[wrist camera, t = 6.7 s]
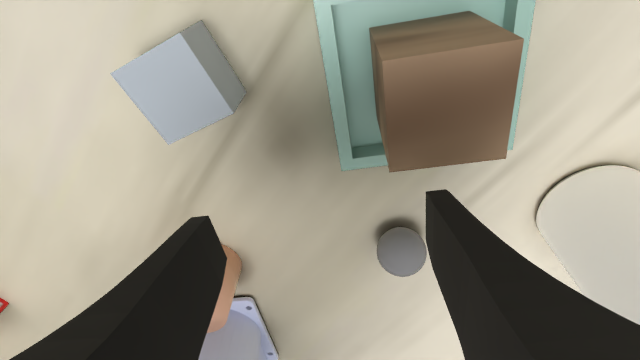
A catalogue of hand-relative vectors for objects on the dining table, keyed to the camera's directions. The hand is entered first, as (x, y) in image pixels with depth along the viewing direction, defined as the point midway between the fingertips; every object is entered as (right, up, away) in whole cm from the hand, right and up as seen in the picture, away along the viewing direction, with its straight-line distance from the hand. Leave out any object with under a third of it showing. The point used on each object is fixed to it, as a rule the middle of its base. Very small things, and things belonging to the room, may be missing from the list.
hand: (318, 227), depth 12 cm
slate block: (-7, +7, +7) cm, 12 cm away
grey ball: (+5, -3, +11) cm, 13 cm away
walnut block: (+5, +7, +6) cm, 10 cm away
